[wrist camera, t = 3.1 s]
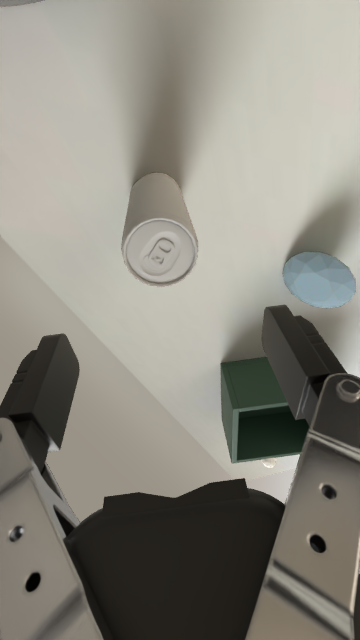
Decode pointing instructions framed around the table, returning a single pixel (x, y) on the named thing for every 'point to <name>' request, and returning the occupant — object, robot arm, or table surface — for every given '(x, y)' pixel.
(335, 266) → the gemstone
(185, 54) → the table surface
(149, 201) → the beverage can
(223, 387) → the bin
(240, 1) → the table surface
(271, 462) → the polyhedron
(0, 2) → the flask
